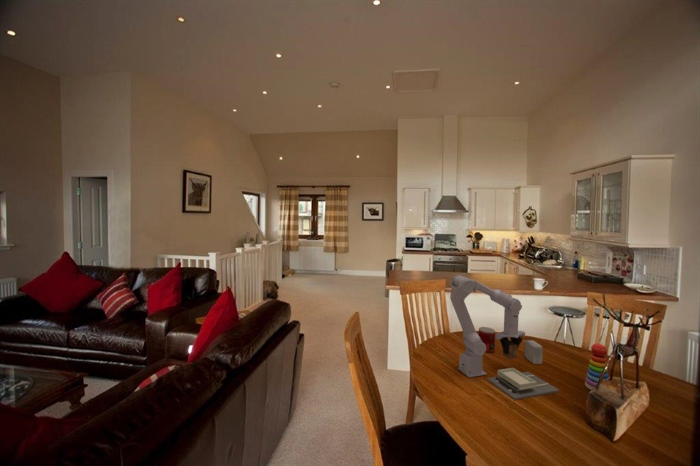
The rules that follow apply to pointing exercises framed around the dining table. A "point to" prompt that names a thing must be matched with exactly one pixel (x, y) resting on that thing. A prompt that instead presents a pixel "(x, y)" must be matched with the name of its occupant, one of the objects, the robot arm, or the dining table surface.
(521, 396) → the track
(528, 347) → the medicine box
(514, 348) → the walnut block
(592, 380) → the stacking toy
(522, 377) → the cream tray
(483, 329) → the canned food
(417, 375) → the dining table surface
